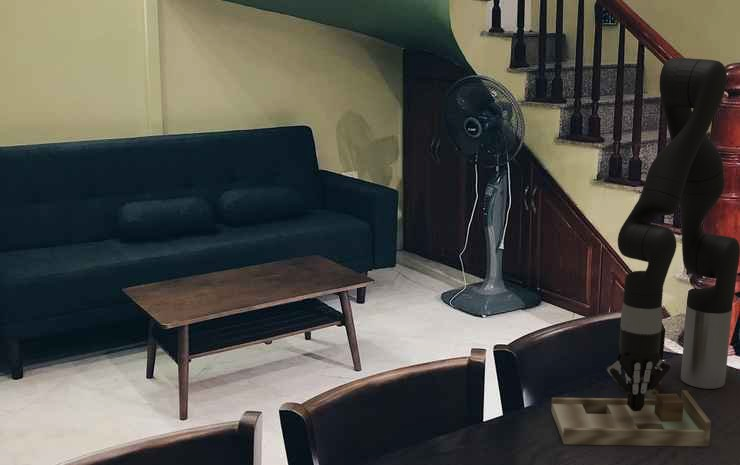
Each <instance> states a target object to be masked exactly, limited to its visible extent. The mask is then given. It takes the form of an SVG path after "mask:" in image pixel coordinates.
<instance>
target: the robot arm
mask: <svg viewBox="0 0 740 465" xmlns="http://www.w3.org/2000/svg"><path fill="white" fill-rule="evenodd" d="M659 75H660V76H659V94H660V100H661V104H662V108H663V113H664V118H665V121H666V124H667V128H668V132H669V138H670V142H669V143H668V144H667V145H665V146H664V148H662V150H660V151H659V153H657V155H656V157H655V158H654V160H653V161H652V162H651V164H650V166H649V168H648V171H647V174H646V177H645V180H644V184H643V186H642V190H641V194H640V196H639V197H638V198H639V199H638V200H637V202H636V203H635V205H634V207H633V209H632V210H631V212H630V213H629V215H628V216H627V218H626V219H625V220H624V222H623V224H622V226H621V227H620V229H619V232H618V236H617V248H618V251H619V252H620V253H621V255H622V256H623V257H626V258H629V259H632V260H637V261H641V262H646V263H647V268H646V269H645V270H634V271H630V272H629V273H627V274H626V276H625V278H624V286H623V290H624V291H623V302H622V307H621V312H620V313H621V314H620V325H619V326H620V328H619V342H618V343H619V344H618V347H619V351H618V352H619V353H618V354H617V356H616V362H614V363H613V364H612V365H610V364H609V365H606V367H605V370H606V372H607V373H608V374H609V375H610V377H611V378H612V380H614V382H615V383H616V385H617V386H618V387H619V388H620V389H622V390H623V392H625V393H627V398H626V399H627V405H628V406H629V407H630V409H631V410H632V411H641V409H642V408H643V406H644V398H645V393H646V391H647V390H653V389H654V388H655V387H656V386H657V384H658V383H659V382H660V381H661V382H662V380H663V378H664V377H665V376H666V374H667V373H668V372H669V371H670V369H671V366H670V364H668V363H666V361H664V359H663V360H660V355H659V350H660V341H661V328H662V323H663V306H662V305H663V291H664V284H665V280H666V278H667V275H668V272H669V269H670V266H671V265H672V262H673V260H674V256H675V255H676V254H675V253H676V251H677V239H676V236H675V234H674V232H673V230H671V229H670V228H669V227H667V226H666V227H665V226H663V225H655V224H652V222H653V221H654V220H655V219H656V218H658V217H663V216H671V215H674V214H676V212H677V210H678V208H679V210H680V212H679V213H680V219H681V220H680V221H681V222H680V223H681V225H680V226H681V252H682V255H681V256H682V261H683V266H684V268H685V270H686V272H688V273H690V274H693V275H695V276H699V277H700V276H701V277H705V278H706V277H707V278H712V279H715V283H714V285H713V286H709V287H704V288H703V287H701V288H696V289H694V290H693V289H692V290H691V291H690V292H689V293H688V294H687V298H686V313H685V322H684V323H685V324H684V334H683V335H684V337H683V348H682V357H681V358H682V360H681V367H680V368H681V369H680V370H681V371H680V380H681V381H682V382H683V383H684V384H686V385H689V386H691V387H695V388H700V389H708V390H710V389H711V390H712V389H719V388H720V389H721V388H722V387H724V386H725V385H726V376H727V368H728V367H727V366H728V356H729V354H728V353H729V347H730V346H729V345H730V335H731V322H732V316H733V315H732V314H733V303H734V298H735V292H736V284H737V278H738V277H737V276H738V271H739V264H740V242H739V241H738V239H736V238H734V237H731V236H726V235H718V234H711V233H705V232H704V230H703V221H704V220H705V218H706V216H707V215H708V214H709V212H710V211H711V210H712V209H713V207H714V206H715V205H716V204H717V202H718V201H719V199H720V198H721V196H722V194H723V192H724V191H725V190H724V189H725V185H726V184H725V175H724V173H725V172H724V163H723V159H722V155H721V153H720V151H719V150H718V148H717V147H716V146H715V144H714V143H713V141H712V140H711V139H710V138H709V136H708V135H707V133H708V131H709V129H710V126H711V124H712V122H713V120H714V118H715V115H716V114H717V112H718V110H719V107H720V104H721V103H722V100H723V98H724V94H725V91H726V87H727V81H728V79H727V78H728V76H727V69H726V67H725V66H724V64H723V63H722V62H720V61H718V60H714V59H707V58H705V59H703V58H691V57H690V58H689V57H686V58H685V57H673V58H670V59H667V61H665V63H664V64H663V66H662V67H661V70H660V74H659ZM622 371H623V373H625V379H627V383H626V381H625V379H624V378H623V377H622Z"/></svg>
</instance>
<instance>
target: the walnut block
mask: <svg viewBox="0 0 740 465" xmlns="http://www.w3.org/2000/svg"><path fill="white" fill-rule="evenodd" d="M683 404H684V402H683V401H682V400H681V397H680V396H679V395H678V394H677V393H660V394H656V399H655V412H654V413H655V414H656V415H657V416H658V418H659V419H660V420H661V421H662V422H667V421H682V416H683Z"/></svg>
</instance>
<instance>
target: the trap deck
mask: <svg viewBox="0 0 740 465" xmlns="http://www.w3.org/2000/svg"><path fill="white" fill-rule="evenodd" d="M680 393H681V394H680V399H681V400H682V401H683V402H684V404H683V416H682V421H667V422H662V421H661V420H660V419H659V418H658V416H657V415H656V414H655V413H654V412H655V399H644V406H643V408H642V409H641V411H632V410H631V409H630V407H629V406H628V405H627V399H628V398H611V397H610V398H609V397H608V398H605V397H601V398H600V397H597V398H596V397H551V410H550V411H551V414H552V417H553V419H554V422H555V425H556V427H557V430H558V432H559V436H560V438H561V441H562V443H563V445H584V446H585V445H587V446H590V445H591V446H594V445H595V446H641V447H642V446H643V447H644V446H649V447H655V446H657V447H708V448H709V446H710V438H711V437H710V436H711V427H712V421H711V420H710V419H709V417H708V416H707V415H706V414H705V412H704V410H703V409H702V408H701V406H699V405H698V403H697V402H696V400H695V399H694V398H693V396H692V395H691V394H690V393H689V391H688V390H687V389H682V390H681V392H680Z"/></svg>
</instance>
